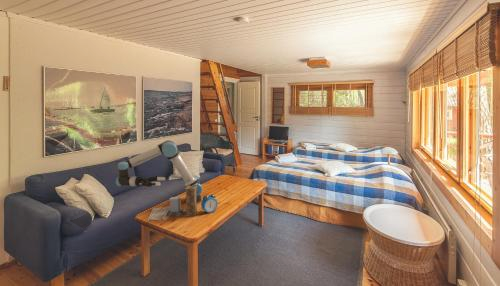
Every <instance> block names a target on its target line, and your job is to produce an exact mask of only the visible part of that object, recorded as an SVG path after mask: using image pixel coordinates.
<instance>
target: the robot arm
mask: <svg viewBox="0 0 500 286" xmlns="http://www.w3.org/2000/svg"><path fill="white" fill-rule="evenodd" d="M180 154H181V152H180V150H179V149H178V147H177V145H176V143H175V142H174V141H172V140H165V141H163V142H161V143H159V144H157V146H156V147H153V148H151V149H149V150H147V151H144V152H143V153H139V154H138V155H136V156H134V157H131V158H129V159H127V160H123V161H120V162H118V163H117V170H118V176H117V177H116V178H115V184H116V187H117V186H118V187H139V186H140V187H141V186H143V187H148V188H149V187H152V186H161V181H166V176H158V175H156V176H148V177H147V176H146V177H144V178H143V177H142V176H130V169H133V168H135V167H136V166H139V165H141V164H143V163H145V162H147V161H150V160H152V159H154V158H156V157H158V156H160V155H164V156H165V157H166V159H167V161H171V163H172V164H173V166H174V169H176V170H177V172H178V173H179V175H180V176H181V178H182V180H183V181H184V185H185V188H186V187H187V186H197V188H196V203H200V202H202V200H203V198H202V195H201V194H202V193H203V185H202V184H201V183H200V176H196V175H193V173H192V172H191V170H190V169H189V167H188V166H187V164H186V163H185V162H184V161H185V160H184V159H183V158H182V157H181V155H180ZM185 202H186V197H185Z"/></svg>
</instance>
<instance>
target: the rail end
mask: <svg viewBox="0 0 500 286" xmlns="http://www.w3.org/2000/svg"><path fill="white" fill-rule="evenodd" d="M181 201H182V199H181V196H179V197H178V196H175V197H172V196H171V197H170V198H169V209H170V212H181V209H182V202H181Z"/></svg>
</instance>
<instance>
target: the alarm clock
mask: <svg viewBox="0 0 500 286" xmlns="http://www.w3.org/2000/svg"><path fill="white" fill-rule="evenodd" d="M216 197H217V196H216V195H215V194H214V193H211V194H209V195H207V194H205V195H203V197H202V200H201V201H200V202H201V203H200V207H201V209H202V210H203V211H204V212H206V214H208V213H210V214H211V213H213V212H215V211H216V209H218V208H217V207H218V204H219V202H218V201H217V199H216Z"/></svg>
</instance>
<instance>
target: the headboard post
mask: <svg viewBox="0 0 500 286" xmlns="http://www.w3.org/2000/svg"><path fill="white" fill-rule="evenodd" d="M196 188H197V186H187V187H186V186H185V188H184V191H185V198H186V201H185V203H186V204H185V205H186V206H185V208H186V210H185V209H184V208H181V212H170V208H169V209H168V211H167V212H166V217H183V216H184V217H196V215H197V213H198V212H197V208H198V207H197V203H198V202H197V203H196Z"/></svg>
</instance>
